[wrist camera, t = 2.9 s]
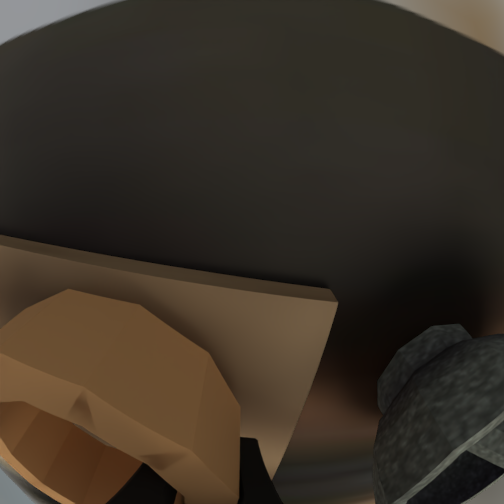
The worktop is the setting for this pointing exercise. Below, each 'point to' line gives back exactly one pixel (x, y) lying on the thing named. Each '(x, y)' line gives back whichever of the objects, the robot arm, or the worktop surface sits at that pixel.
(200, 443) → the orange notched ring
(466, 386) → the mortar and pestle
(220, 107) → the worktop surface
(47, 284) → the shelf plate
